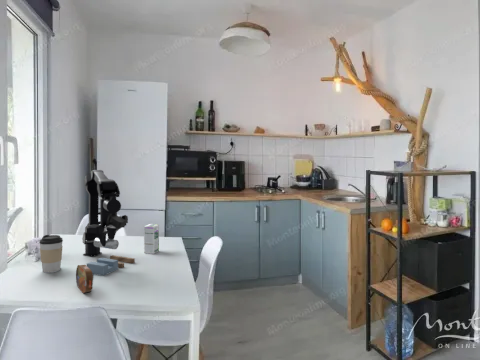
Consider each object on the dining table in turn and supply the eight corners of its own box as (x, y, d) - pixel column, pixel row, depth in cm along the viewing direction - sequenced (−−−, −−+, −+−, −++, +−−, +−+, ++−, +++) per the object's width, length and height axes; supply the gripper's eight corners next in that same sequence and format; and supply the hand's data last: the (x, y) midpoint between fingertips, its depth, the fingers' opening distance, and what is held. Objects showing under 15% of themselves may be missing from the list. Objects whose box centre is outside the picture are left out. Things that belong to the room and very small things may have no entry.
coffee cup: (68, 268, 152) (67, 234, 151) (50, 274, 143) (50, 239, 142) (52, 265, 155) (52, 232, 154) (34, 271, 146) (33, 237, 145)
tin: (75, 283, 134) (75, 262, 134) (83, 281, 136) (83, 261, 136) (85, 296, 123) (85, 273, 122) (94, 294, 124) (94, 271, 124)
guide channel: (98, 264, 158) (98, 260, 157) (112, 259, 166) (112, 255, 166) (122, 268, 153) (122, 263, 153) (134, 262, 162) (134, 258, 162)
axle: (93, 247, 149) (93, 238, 148) (100, 245, 153) (100, 236, 152) (112, 250, 145) (112, 241, 145) (118, 248, 149) (118, 239, 149)
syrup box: (154, 254, 176) (154, 226, 175) (143, 253, 177) (143, 225, 176) (159, 251, 182) (159, 224, 181) (148, 250, 183) (148, 223, 182)
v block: (86, 272, 147) (86, 263, 146) (101, 266, 155) (101, 257, 155) (103, 275, 144) (103, 266, 143) (118, 269, 152) (118, 260, 152)
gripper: (107, 214, 136) (107, 253, 137) (136, 208, 154) (136, 242, 155) (85, 212, 140) (85, 249, 141) (115, 206, 157) (115, 239, 158)
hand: (107, 245), depth 149 cm, fingers closed on axle, 4 cm apart
